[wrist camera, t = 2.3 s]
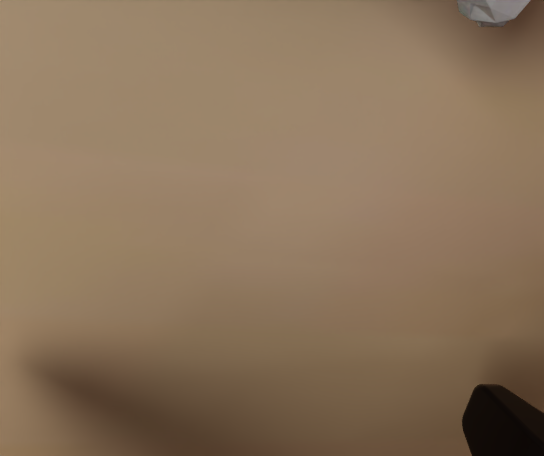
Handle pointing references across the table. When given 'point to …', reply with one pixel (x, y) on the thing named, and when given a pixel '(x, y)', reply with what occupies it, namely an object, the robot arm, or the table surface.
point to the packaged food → (491, 11)
